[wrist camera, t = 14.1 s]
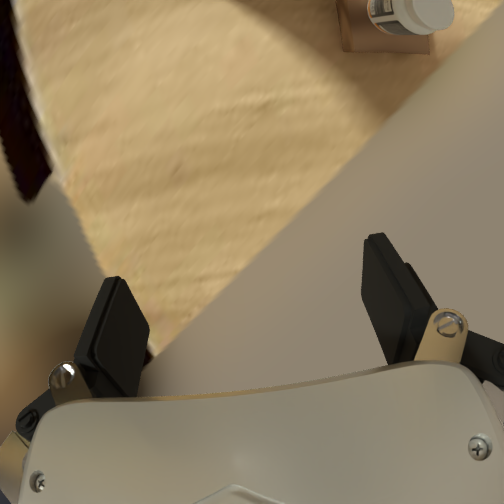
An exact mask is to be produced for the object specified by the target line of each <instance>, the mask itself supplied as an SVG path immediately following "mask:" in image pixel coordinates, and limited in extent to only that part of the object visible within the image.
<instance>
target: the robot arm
mask: <svg viewBox="0 0 504 504" xmlns="http://www.w3.org/2000/svg"><path fill="white" fill-rule="evenodd" d="M361 296H362V300H363V303H364V305H365V307H366V310H367V312H368V315H369V317H370V320H371V322H372V325H373V327H374V330H375V332H376V335H377V337H378V340H379V342H380V345H381V348H382V350H383V353H384V355H385V358H386V361H387V363H388V365H386V366H382V367H377V368H373V369H368V370H363V371H358V372H353V373H349V374H343V375H338V376H333V377H328V378H323V379H317V380H312V381H306V382H300V383H293V384H287V385H281V386H273V387H266V388H258V389H250V390H241V391H232V392H221V393H210V394H197V395H182V396H161V397H137V392H138V386H139V381H140V376H141V371H142V366H143V361H144V356H145V351H146V346H147V342H148V337H149V332H150V329H149V325H148V323H147V321H146V319H145V317H144V315H143V313H142V312H141V310H140V308H139V306H138V304H137V302H136V300H135V298H134V296H133V295H132V293H131V291H130V289H129V287H128V285H127V283H126V281H125V280H124V279H121V277H119V276H115V277H109V278H105V280H104V282H103V284H102V286H101V289H100V291H99V293H98V295H97V298H96V300H95V303H94V305H93V307H92V310H91V312H90V315H89V317H88V320H87V322H86V325H85V327H84V330H83V333H82V335H81V338H80V340H79V343H78V345H77V348H76V351H75V354H74V357H75V359H74V362H69V361H66V362H62V363H61V364H59V365H57V366H56V367H55V368H54V369H53V371H52V372H51V373H50V376H49V380H48V384H49V388H50V389H48V390H47V391H46V392H44V393H43V394H42V395H41V396H39V397H38V398H37V399H36V400H34V401H33V402H32V403H31V404H29V405H28V406H27V407H25V408H24V409H23V410H22V411H21V412H20V413H19V415H18V417H17V420H16V430H17V431H16V432H14V431H12V432H11V433H10V435H9V436H8V437H7V439H6V440H5V441H4V443H3V444H2V445H1V447H0V489H1V490H2V492H3V493H4V494H5V496H6V497H7V498H8V499H9V501H10V502H11V503H12V504H504V430H503V427H502V424H501V422H500V420H499V418H500V419H501V421H502V422H503V424H504V344H502V343H500V342H497V341H495V340H492V339H490V338H487V337H485V336H482V335H479V334H477V333H474V332H472V331H469V330H468V323H467V320H466V319H465V317H464V316H463V315H462V314H461V313H459V312H458V311H455V310H453V309H448V308H446V309H445V308H444V309H439V310H438V308H437V306H436V305H435V303H434V301H433V300H432V298H431V296H430V295H429V293H428V292H427V290H426V289H425V287H424V285H423V284H422V282H421V280H420V279H419V277H418V276H417V274H416V272H415V271H414V269H413V268H412V267H411V265H410V264H409V263H404V262H403V261H402V259H401V257H400V256H399V254H398V253H397V251H396V250H395V249H394V247H393V245H392V244H391V242H390V241H389V239H388V238H387V237H386V235H385V234H384V233H376V234H370V235H369V236H368V239H365V240H364V252H363V271H362V286H361Z"/></svg>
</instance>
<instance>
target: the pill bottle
mask: <svg viewBox="0 0 504 504" xmlns="http://www.w3.org/2000/svg"><path fill="white" fill-rule="evenodd" d="M367 11H368V16H369V18H370V20H371V22H372V23H373V24H374V25H375V26H376V27H377V28H378V29H379V30H381V31H382V32H384V33H387V34H391V35H428V34H431V33H433V32H435V31H436V30H443V29H446V28H448V27H449V26H450V25H451V24H452V22H453V19H454V8H453V4H452V2H451V0H369V1H368V4H367Z"/></svg>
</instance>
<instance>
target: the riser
mask: <svg viewBox="0 0 504 504" xmlns="http://www.w3.org/2000/svg"><path fill="white" fill-rule="evenodd" d="M368 1H369V0H336V5H337V11H338V17H339V23H340V30H341V36H342V43H343V51H344V52H396V53H415V54H429V55H430V51H429V40H428V35H391V34H387V33H384V32H382V31H381V30H379V29H378V28H377V27H376V26H375V25H374V24H373V23H372V22H371V20H370V18H369V16H368V11H367V4H368Z"/></svg>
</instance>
